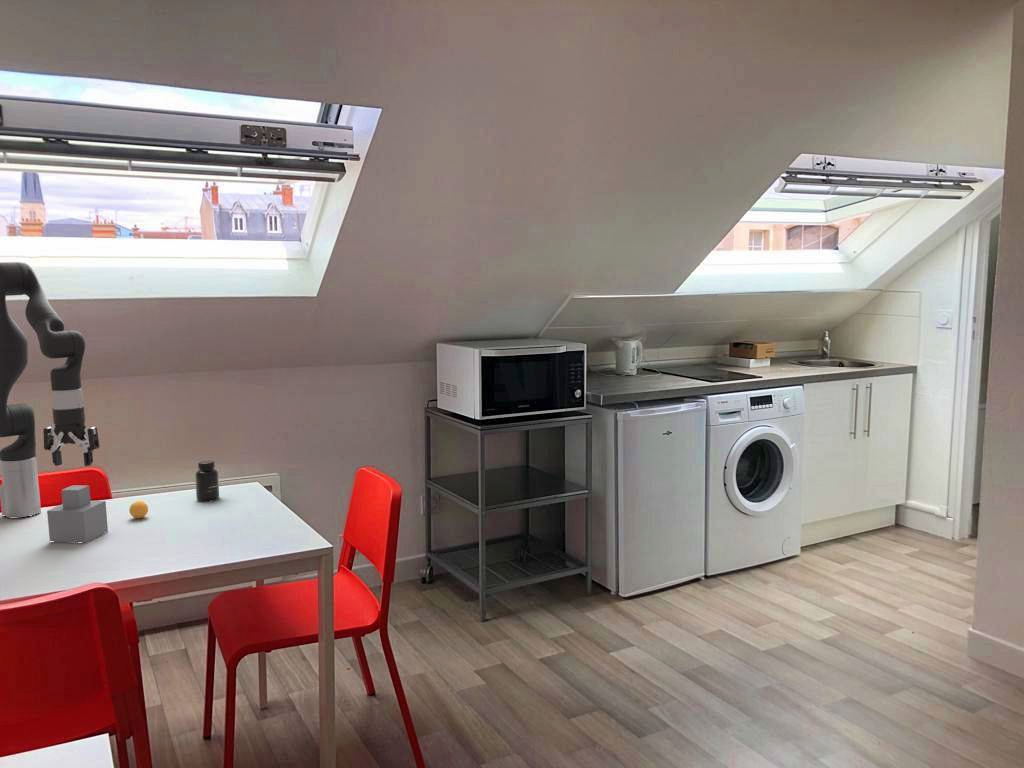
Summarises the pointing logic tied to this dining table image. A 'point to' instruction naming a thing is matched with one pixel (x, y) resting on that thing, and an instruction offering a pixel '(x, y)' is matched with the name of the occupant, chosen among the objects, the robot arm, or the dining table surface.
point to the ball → (138, 509)
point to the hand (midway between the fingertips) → (73, 465)
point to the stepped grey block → (77, 517)
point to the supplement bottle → (207, 481)
